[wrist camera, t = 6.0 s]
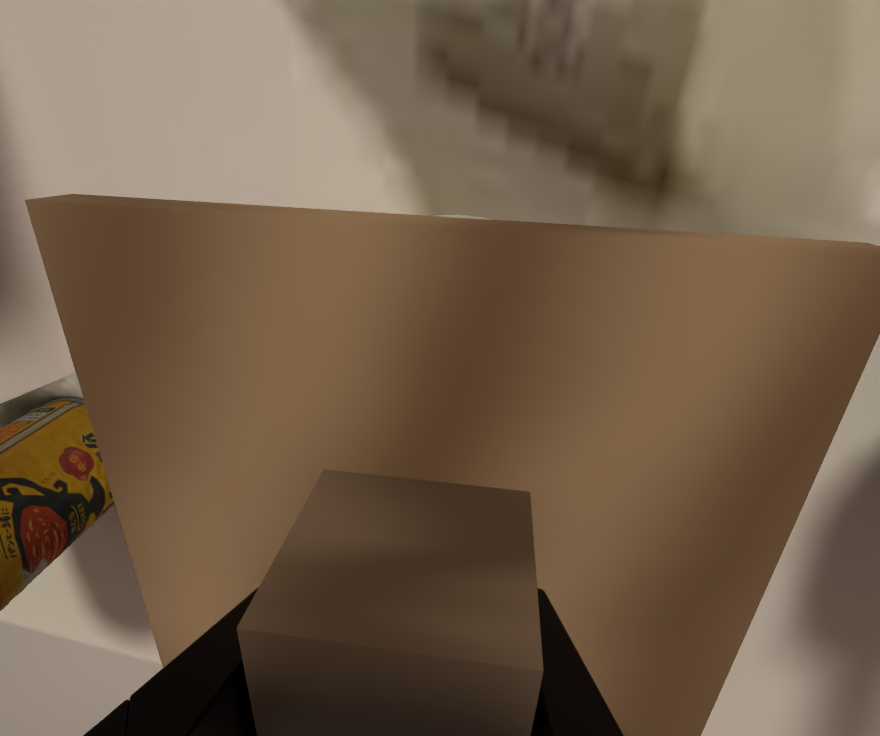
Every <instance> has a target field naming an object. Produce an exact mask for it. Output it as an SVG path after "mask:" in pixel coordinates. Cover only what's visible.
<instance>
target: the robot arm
mask: <svg viewBox="0 0 880 736" xmlns="http://www.w3.org/2000/svg"><path fill="white" fill-rule="evenodd" d="M258 588H259V587H258ZM258 588H256V589H255V590H254V591H253V592H252V593H251V594H249V595H248V596H247V597H246V598H245V599H244V600H242V601H241V602H240V603H239V604H238V605H237V606H235V607H234V608H233V609H232V610H231V611H230V612H228V613H227V614H226V615H225V616H224V617H223V618H221V619H220V620H219V621H218V622H217V623H215V624H214V625H213V626H212V627H211V628H210V629H208V630H207V631H206V632H205V633H204V634H203V635H201V636H200V637H199V638H198V639H197V640H196V641H194V642H193V643H192V644H191V645H190V646H189V647H187V648H186V649H185V650H184V651H183V652H182V653H180V654H179V655H178V656H177V657H176V658H175V659H173V660H172V661H171V662H170V663H169V664H167V665H166V666H165V667H164V668H163V669H162V670H160V671H159V672H158V673H157V674H156V675H155V676H153V677H152V678H151V679H150V680H149V681H148V682H146V683H145V684H144V685H143V686H142V687H141V688H139V689H138V690H137V691H136V692H135V693H134V694H132V695H131V697H130V701H129V700H125V701H124V702H123V703H122V704H120V705H119V706H118V707H117V708H116V709H115V710H113V711H112V712H111V713H110V714H109V715H108V716H107V717H105V718H104V719H103V720H102V721H100V722H99V723H98V724H97V725H95V726H94V727H93V728H92V729H91V730H89V731H88V732H87V733H86V734H85V735H84V736H257V733H256V728H255V723H254V718H253V712H252V707H251V702H250V697H249V691H248V686H247V681H246V676H245V670H244V665H243V660H242V654H241V649H240V644H239V639H238V633H237V626H238V625H239V623H240V621H241V619H242V617H243V615H244V614H245V612H246V610H247V608H248V606H249V605H250V603H251V601H252V599H253V597H254V595H255V594H256V592H257V590H258ZM537 590H538V604H539V617H540V631H541V644H542V658H543V676H542V681H541V686H540V691H539V696H538V701H537V706H536V711H535V716H534V721H533V726H532V731H531V736H624V735H623V733H622V731H621V729H620V727H619V726H618V724H617V722H616V720H615V718H614V716H613V715H612V713H611V711H610V709H609V707H608V706H607V704H606V702H605V700H604V698H603V696H602V695H601V693H600V691H599V689H598V687H597V685H596V684H595V682H594V680H593V678H592V676H591V675H590V673H589V671H588V669H587V667H586V665H585V664H584V662H583V660H582V658H581V656H580V654H579V653H578V651H577V649H576V647H575V645H574V644H573V642H572V640H571V638H570V636H569V634H568V633H567V631H566V629H565V627H564V625H563V623H562V622H561V620H560V618H559V616H558V614H557V613H556V611H555V609H554V607H553V605H552V603H551V602H550V600H549V598H548V596H547V594H546V593H545V591H544V590H543V589H541V588H537Z"/></svg>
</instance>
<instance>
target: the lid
mask: <svg viewBox="0 0 880 736" xmlns="http://www.w3.org/2000/svg"><path fill="white" fill-rule="evenodd" d="M25 202H26V205H27V209H28V212H29V215H30V219H31V222H32V226H33V229H34V232H35V236H36V239H37V243H38V246H39V249H40V253H41V256H42V259H43V263H44V266H45V270H46V273H47V276H48V280H49V283H50V287H51V290H52V293H53V297H54V300H55V303H56V307H57V310H58V314H59V317H60V320H61V324H62V327H63V331H64V334H65V337H66V341H67V344H68V347H69V351H70V354H71V358H72V361H73V364H74V368H75V371H76V375H77V378H78V381H79V385H80V388H81V391H82V395H83V398H84V402H85V405H86V408H87V412H88V415H89V419H90V422H91V425H92V429H93V432H94V435H95V439H96V442H97V446H98V449H99V452H100V456H101V459H102V463H103V466H104V469H105V473H106V476H107V479H108V483H109V486H110V490H111V493H112V496H113V500H114V503H115V507H116V510H117V513H118V517H119V520H120V523H121V527H122V530H123V534H124V537H125V540H126V544H127V547H128V551H129V554H130V557H131V561H132V564H133V567H134V571H135V574H136V578H137V581H138V584H139V588H140V591H141V595H142V598H143V601H144V605H145V608H146V611H147V615H148V618H149V622H150V625H151V628H152V632H153V635H154V639H155V642H156V645H157V649H158V652H159V656H160V659H161V662H162V666H163V668H164V667H165V666H166V665H167V664H169V663H170V662H171V661H172V660H173V659H175V658H176V657H177V656H178V655H179V654H180V653H182V652H183V651H184V650H185V649H186V648H187V647H189V646H190V645H191V644H192V643H193V642H194V641H196V640H197V639H198V638H199V637H200V636H201V635H203V634H204V633H205V632H206V631H207V630H208V629H210V628H211V627H212V626H213V625H214V624H215V623H217V622H218V621H219V620H220V619H221V618H223V617H224V616H225V615H226V614H227V613H228V612H230V611H231V610H232V609H233V608H234V607H235V606H237V605H238V604H239V603H240V602H241V601H242V600H244V599H245V598H246V597H247V596H248V595H249V594H251V593H252V592H253V591H254V590H255V589H256V588H258V587H259V588H258V590H257V592H256V594H255V595H254V597H253V599H252V601H251V603H250V605H249V606H248V608H247V610H246V612H245V614H244V615H243V617H242V619H241V621H240V623H239V625H238V626H237V633H238V639H239V644H240V649H241V654H242V660H243V665H244V670H245V676H246V681H247V686H248V691H249V697H250V702H251V707H252V712H253V718H254V723H255V728H256V733H257V736H531V731H532V726H533V721H534V716H535V711H536V706H537V701H538V696H539V691H540V686H541V681H542V676H543V658H542V644H541V631H540V617H539V604H538V590H537V588H541V589H543V590H544V591H545V593H546V594H547V596H548V598H549V600H550V602H551V603H552V605H553V607H554V609H555V611H556V613H557V614H558V616H559V618H560V620H561V622H562V623H563V625H564V627H565V629H566V631H567V633H568V634H569V636H570V638H571V640H572V642H573V644H574V645H575V647H576V649H577V651H578V653H579V654H580V656H581V658H582V660H583V662H584V664H585V665H586V667H587V669H588V671H589V673H590V675H591V676H592V678H593V680H594V682H595V684H596V685H597V687H598V689H599V691H600V693H601V695H602V696H603V698H604V700H605V702H606V704H607V706H608V707H609V709H610V711H611V713H612V715H613V716H614V718H615V720H616V722H617V724H618V726H619V727H620V729H621V731H622V733H623V735H624V736H701V734H702V731H703V729H704V727H705V725H706V722H707V720H708V718H709V716H710V713H711V711H712V709H713V707H714V704H715V702H716V700H717V698H718V695H719V693H720V691H721V689H722V686H723V684H724V682H725V680H726V678H727V675H728V673H729V671H730V669H731V666H732V664H733V662H734V660H735V657H736V655H737V653H738V651H739V648H740V646H741V644H742V642H743V639H744V637H745V635H746V633H747V630H748V628H749V626H750V624H751V621H752V619H753V617H754V615H755V612H756V610H757V608H758V606H759V603H760V601H761V599H762V597H763V594H764V592H765V590H766V588H767V585H768V583H769V581H770V579H771V576H772V574H773V572H774V570H775V567H776V565H777V563H778V561H779V559H780V556H781V554H782V552H783V550H784V547H785V545H786V543H787V541H788V538H789V536H790V534H791V532H792V529H793V527H794V525H795V523H796V520H797V518H798V516H799V514H800V511H801V509H802V507H803V505H804V502H805V500H806V498H807V496H808V493H809V491H810V489H811V487H812V484H813V482H814V480H815V478H816V475H817V473H818V471H819V469H820V466H821V464H822V462H823V460H824V457H825V455H826V453H827V451H828V449H829V446H830V444H831V442H832V440H833V437H834V435H835V433H836V431H837V428H838V426H839V424H840V422H841V419H842V417H843V415H844V413H845V410H846V408H847V406H848V404H849V401H850V399H851V397H852V395H853V392H854V390H855V388H856V386H857V383H858V381H859V379H860V377H861V374H862V372H863V370H864V368H865V365H866V363H867V361H868V359H869V356H870V354H871V352H872V350H873V347H874V345H875V343H876V341H877V339H878V336H879V334H880V246H876V245H872V244H869V243H860V242H844V241H828V240H812V239H795V238H779V237H763V236H747V235H730V234H714V233H698V232H682V231H665V230H649V229H633V228H617V227H600V226H584V225H568V224H552V223H535V222H519V221H503V220H487V219H470V218H454V217H438V216H422V215H405V214H389V213H373V212H357V211H340V210H324V209H308V208H292V207H276V206H259V205H243V204H227V203H211V202H194V201H178V200H162V199H146V198H129V197H113V196H97V195H81V194H69V195H61V196H53V197H45V198H37V199H29V200H25Z"/></svg>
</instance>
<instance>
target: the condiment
mask: <svg viewBox="0 0 880 736" xmlns="http://www.w3.org/2000/svg"><path fill="white" fill-rule="evenodd" d="M114 504H115V503H114V500H113V496H112V493H111V490H110V486H109V483H108V479H107V476H106V473H105V469H104V466H103V463H102V459H101V456H100V452H99V449H98V446H97V442H96V439H95V435H94V432H93V429H92V425H91V422H90V419H89V415H88V412H87V408H86V405H85V402H84V398H83V395H82V391H81V388H80V385H79V381H78V378H77V375H76V373H75V374H72V375H70V376H67V377H65V378H62V379H60V380H58V381H55V382H53V383H50V384H48V385H45V386H43V387H41V388H38V389H36V390H33V391H31V392H29V393H26V394H24V395H21V396H19V397H17V398H14V399H12V400H9V401H7V402H4V403H2V404H0V611H1V610H2V609H3V608H4V607H5V606H6V605H8V603H9V602H10V601H11V600H12V599H13V598H14V597H15V596H16V595H18V594H19V593H20V592H22V591H23V590H24V588H25V587H26V586H27V585H28V584H29V583H30V582H31V581H32V580H33V579H34V578H35V577H37V575H39V574H40V573H41V572H42V571H43V570H44V569H45V568H46V567H47V566H49V565H50V564H51V563H52V562H53V561H54V560H55V559H56V558H57V557H58V556H60V554H61V553H62V552H63V551H64V550H65V549H66V548H67V547H69V546H70V545H71V543H72V542H74V541H75V540H76V539H77V538H78V537H80V536H81V535H82V534H83V533H84V532H85V530H86V529H88V528H89V527H90V526H92V525H93V523H94V522H95V521H96V520H98V518H100V517H101V516H102V515H103V514H104V513H105V512H107V511H108V510H109V508H110V507H112V506H113V505H114Z"/></svg>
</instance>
